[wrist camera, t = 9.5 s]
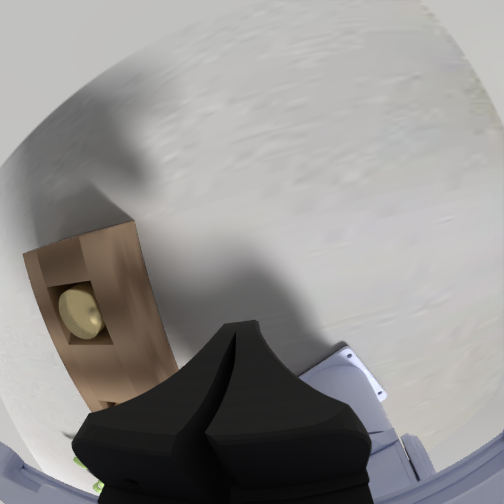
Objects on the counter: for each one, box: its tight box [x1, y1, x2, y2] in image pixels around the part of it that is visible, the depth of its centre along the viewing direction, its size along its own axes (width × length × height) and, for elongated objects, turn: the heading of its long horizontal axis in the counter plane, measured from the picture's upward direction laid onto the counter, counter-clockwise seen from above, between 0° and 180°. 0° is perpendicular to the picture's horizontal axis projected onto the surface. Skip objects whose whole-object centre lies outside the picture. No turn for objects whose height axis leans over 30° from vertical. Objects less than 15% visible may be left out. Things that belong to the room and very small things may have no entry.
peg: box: [59, 280, 106, 339], centre depth 19 cm, size 4×4×5 cm
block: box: [23, 221, 179, 412], centre depth 20 cm, size 22×9×5 cm, turn 10°
